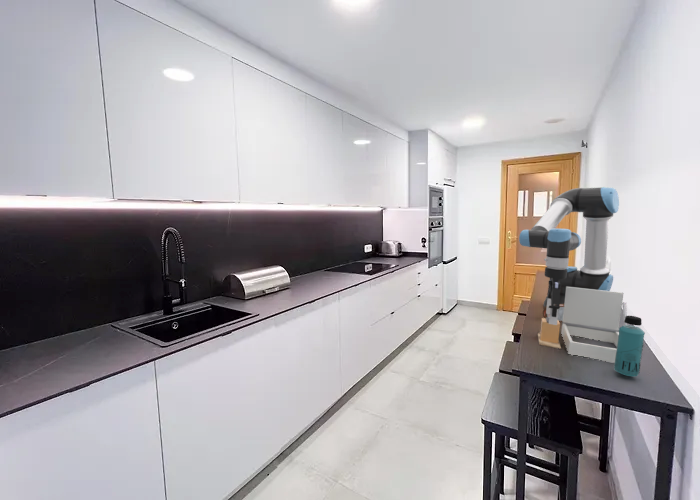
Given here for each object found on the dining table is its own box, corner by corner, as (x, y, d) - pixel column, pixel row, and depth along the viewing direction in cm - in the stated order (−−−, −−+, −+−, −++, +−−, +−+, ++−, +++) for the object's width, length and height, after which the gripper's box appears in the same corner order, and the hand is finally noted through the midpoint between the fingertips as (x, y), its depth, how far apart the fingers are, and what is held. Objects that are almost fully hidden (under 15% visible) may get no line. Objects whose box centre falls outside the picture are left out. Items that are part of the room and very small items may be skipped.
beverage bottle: (617, 378, 105) (625, 318, 102) (609, 369, 111) (616, 312, 108) (642, 383, 102) (651, 321, 100) (633, 373, 108) (641, 315, 106)
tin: (569, 319, 160) (571, 303, 159) (574, 322, 157) (576, 305, 156) (541, 320, 159) (542, 303, 157) (545, 322, 155) (547, 305, 154)
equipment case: (561, 333, 142) (566, 286, 139) (620, 343, 133) (627, 292, 130) (568, 354, 121) (574, 299, 119) (639, 367, 112) (648, 308, 109)
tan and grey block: (539, 336, 138) (541, 316, 136) (556, 339, 135) (558, 319, 134) (540, 340, 133) (542, 320, 132) (558, 343, 130) (560, 323, 129)
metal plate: (537, 333, 142) (537, 332, 142) (557, 336, 139) (557, 335, 139) (539, 345, 129) (539, 344, 129) (560, 349, 126) (561, 348, 126)
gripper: (543, 261, 143) (538, 308, 146) (547, 272, 121) (542, 327, 124) (563, 263, 139) (558, 311, 142) (572, 274, 117) (566, 331, 120)
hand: (551, 318), depth 133 cm, fingers open, 13 cm apart
